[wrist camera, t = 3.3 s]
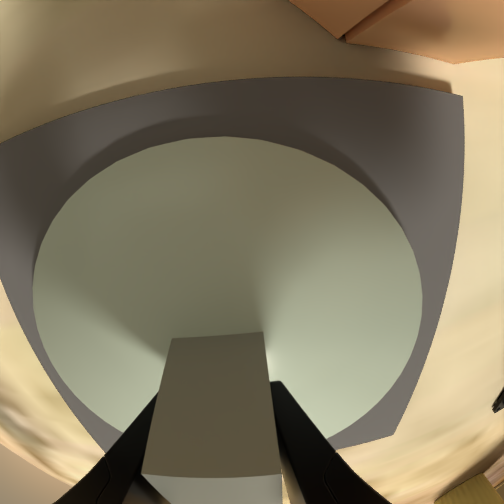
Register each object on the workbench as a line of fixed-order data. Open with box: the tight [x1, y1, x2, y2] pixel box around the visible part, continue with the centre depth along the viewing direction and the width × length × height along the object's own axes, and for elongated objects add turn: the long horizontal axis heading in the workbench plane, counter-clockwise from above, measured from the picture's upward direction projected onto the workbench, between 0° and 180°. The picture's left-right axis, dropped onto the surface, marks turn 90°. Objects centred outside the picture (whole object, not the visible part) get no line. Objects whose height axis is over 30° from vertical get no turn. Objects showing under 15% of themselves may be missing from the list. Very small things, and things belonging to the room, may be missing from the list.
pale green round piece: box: [33, 136, 422, 504], centre depth 8 cm, size 15×15×6 cm
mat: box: [0, 77, 464, 453], centre depth 11 cm, size 18×18×1 cm
